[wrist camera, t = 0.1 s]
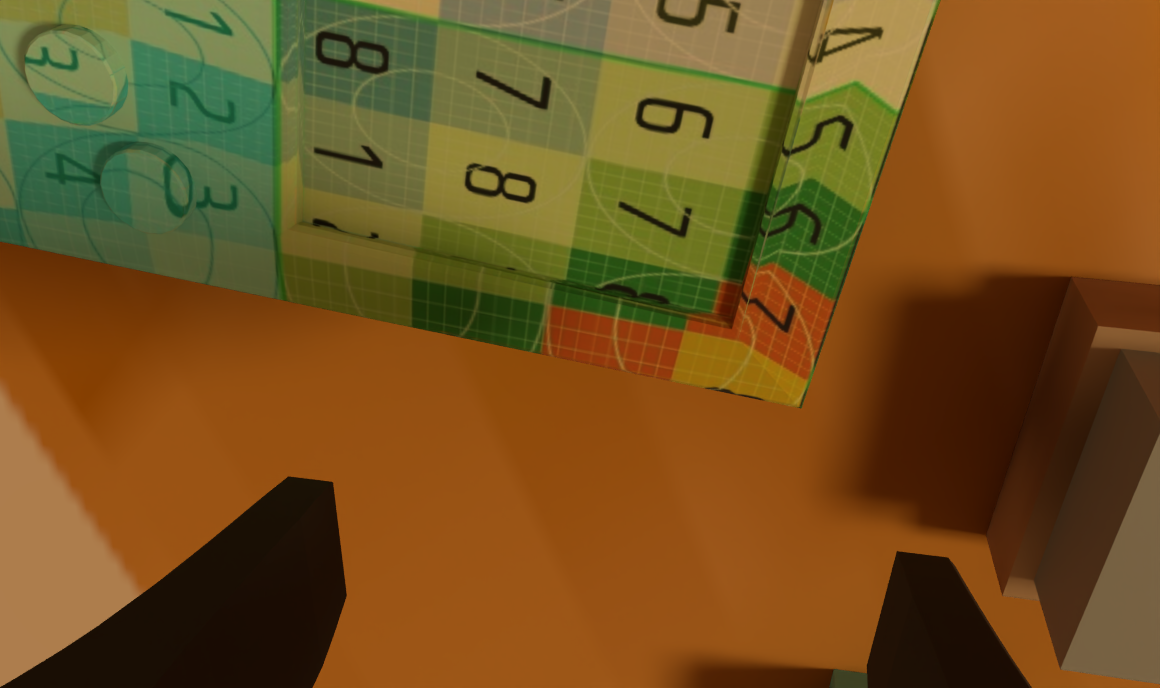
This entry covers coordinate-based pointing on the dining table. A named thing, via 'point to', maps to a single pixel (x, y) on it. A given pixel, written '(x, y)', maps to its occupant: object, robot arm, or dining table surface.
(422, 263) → the puzzle game
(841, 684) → the teal cube
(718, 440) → the dining table surface
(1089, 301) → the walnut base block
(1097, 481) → the beige square block
